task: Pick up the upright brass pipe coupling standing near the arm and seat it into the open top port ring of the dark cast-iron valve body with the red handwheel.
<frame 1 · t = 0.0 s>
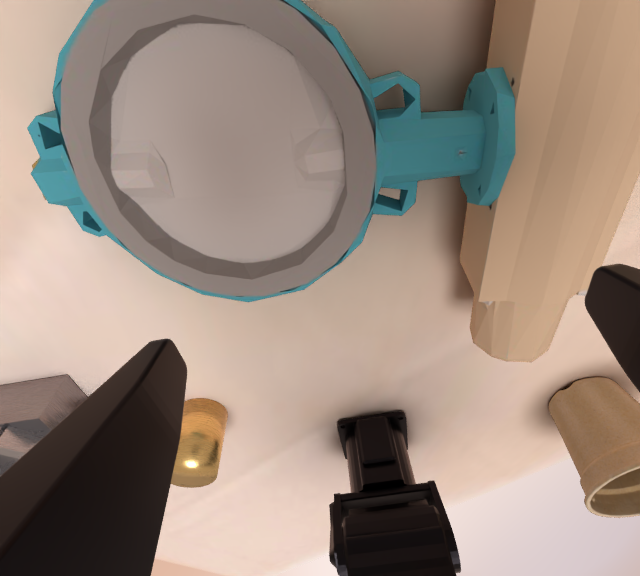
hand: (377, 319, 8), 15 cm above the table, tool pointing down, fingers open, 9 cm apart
butterfly valve: (328, 136, 20), on the table
flower pot: (579, 394, 35), on the table
valve: (48, 415, 32), on the table
coupling: (203, 413, 33), on the table
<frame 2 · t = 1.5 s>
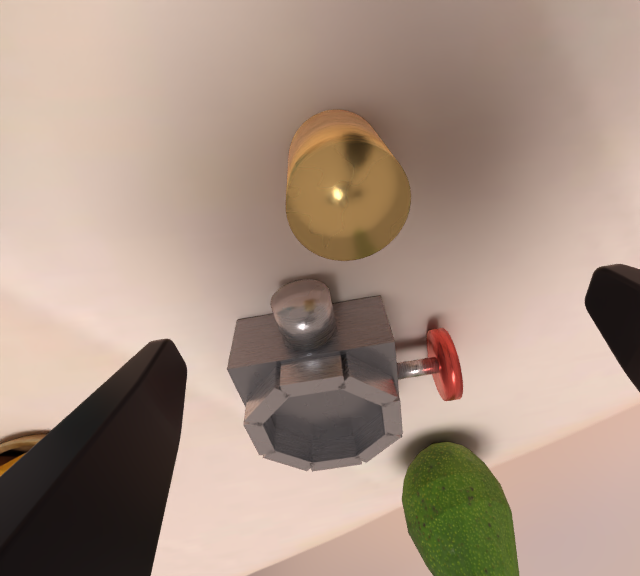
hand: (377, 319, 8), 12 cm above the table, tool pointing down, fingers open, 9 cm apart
toy sandwich meal: (65, 466, 32), on the table
valve: (320, 357, 25), on the table
avocado: (434, 446, 33), on the table
coupling: (334, 160, 17), on the table
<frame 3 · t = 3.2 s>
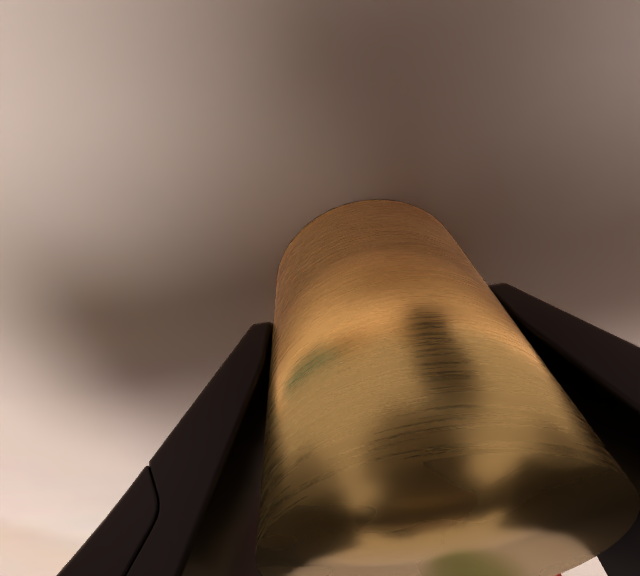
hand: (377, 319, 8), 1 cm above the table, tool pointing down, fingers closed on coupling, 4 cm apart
coupling: (367, 285, 9), on the table, touching gripper
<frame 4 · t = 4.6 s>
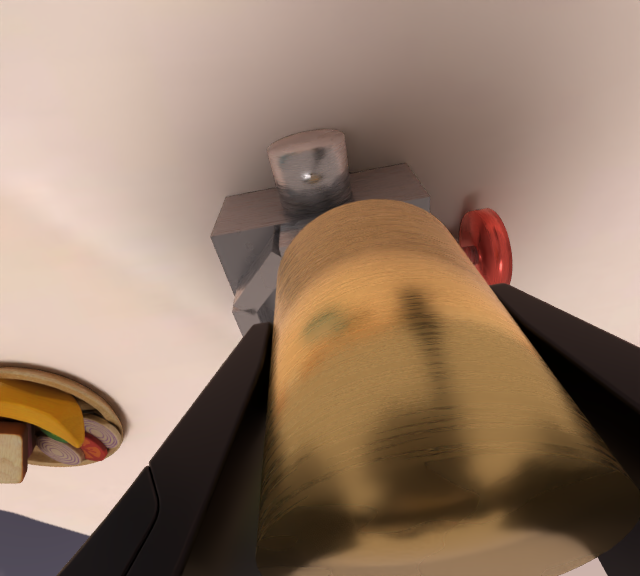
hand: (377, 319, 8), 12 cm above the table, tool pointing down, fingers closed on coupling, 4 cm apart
toy sandwich meal: (36, 410, 29), on the table
valve: (328, 256, 21), on the table
coupling: (368, 285, 9), point 10 cm above the table, touching gripper
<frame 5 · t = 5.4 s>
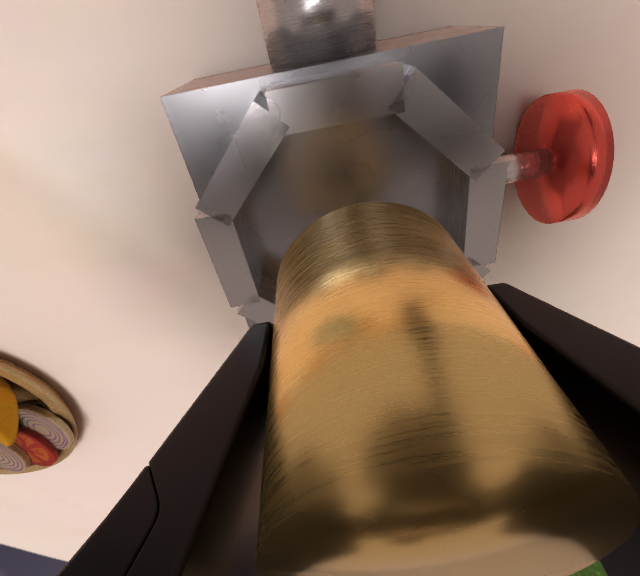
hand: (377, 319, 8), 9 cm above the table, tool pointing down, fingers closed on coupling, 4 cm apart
valve: (337, 179, 15), on the table
avocado: (492, 367, 23), on the table
coupling: (368, 287, 9), point 8 cm above the table, touching gripper
when the fingers open (6 cm above the table, at t = 6.2 s): coupling drops 1 cm, resting on valve.
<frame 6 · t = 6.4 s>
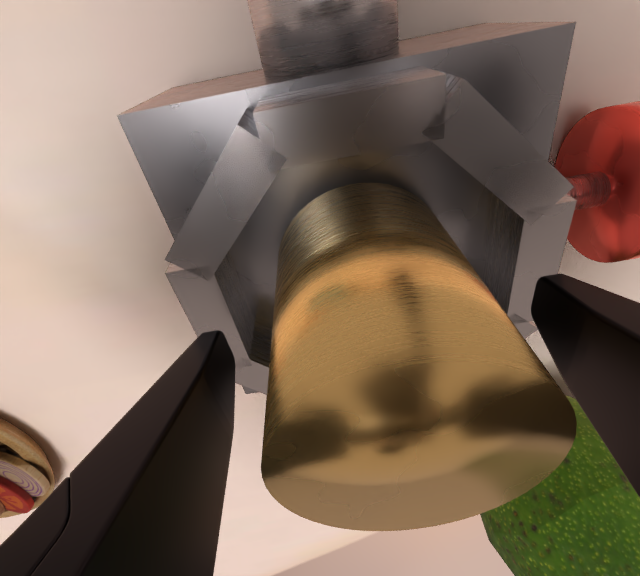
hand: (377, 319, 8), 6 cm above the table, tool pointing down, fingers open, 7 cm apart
valve: (345, 203, 13), on the table
avocado: (513, 403, 21), on the table
coupling: (361, 263, 10), point 4 cm above the table, touching valve
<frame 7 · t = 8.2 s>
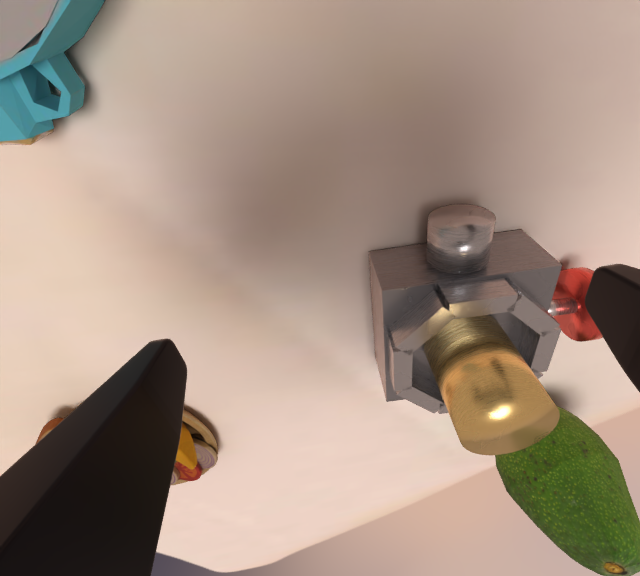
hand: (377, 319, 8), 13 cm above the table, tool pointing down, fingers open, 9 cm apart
toy sandwich meal: (138, 435, 31), on the table
valve: (439, 300, 24), on the table
avocado: (519, 409, 32), on the table
coupling: (462, 342, 21), point 4 cm above the table, touching valve
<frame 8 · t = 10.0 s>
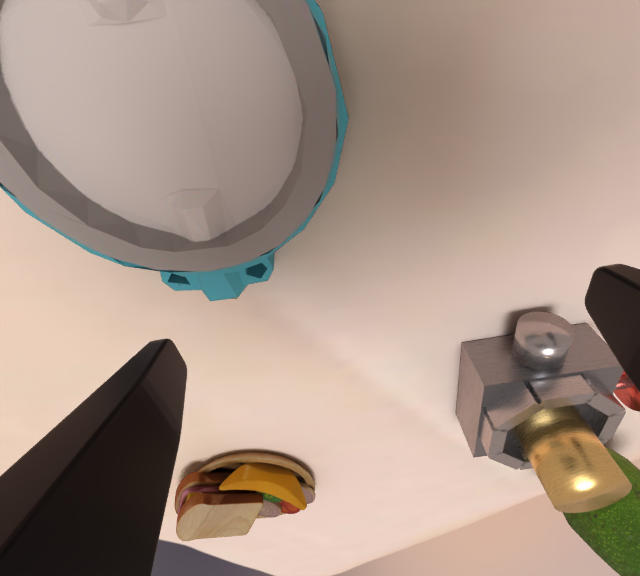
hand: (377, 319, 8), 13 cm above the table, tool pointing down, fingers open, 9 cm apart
toy sandwich meal: (248, 478, 38), on the table
valve: (514, 373, 29), on the table
avocado: (573, 448, 37), on the table
coupling: (541, 416, 26), point 4 cm above the table, touching valve
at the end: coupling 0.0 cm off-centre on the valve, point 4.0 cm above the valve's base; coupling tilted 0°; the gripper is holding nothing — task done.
